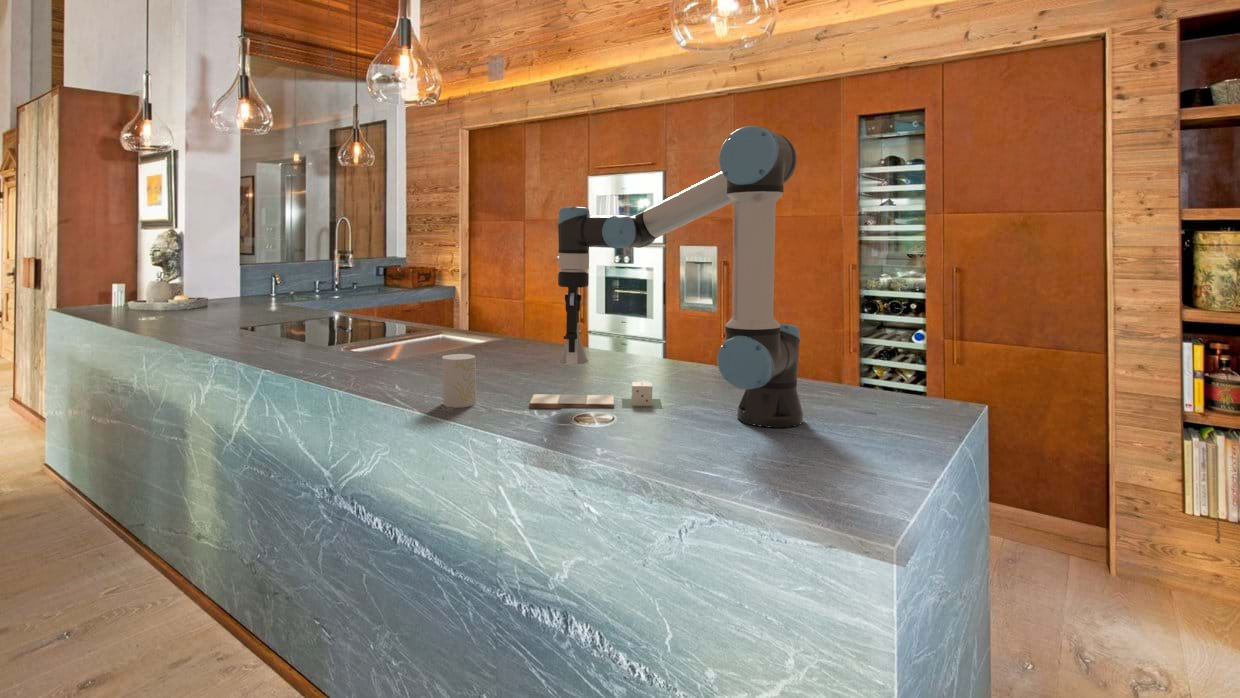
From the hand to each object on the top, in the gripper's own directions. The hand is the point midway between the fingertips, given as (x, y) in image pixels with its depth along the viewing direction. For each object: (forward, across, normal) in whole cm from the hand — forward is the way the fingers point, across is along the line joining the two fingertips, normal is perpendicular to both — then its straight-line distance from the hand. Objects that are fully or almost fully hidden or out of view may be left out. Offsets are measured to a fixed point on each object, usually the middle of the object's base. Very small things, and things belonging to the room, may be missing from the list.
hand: (572, 361), depth 175 cm
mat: (+11, 0, +18) cm, 21 cm away
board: (+11, 0, 0) cm, 11 cm away
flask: (0, 0, 0) cm, 0 cm away
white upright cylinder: (+11, +1, -28) cm, 30 cm away
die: (+10, 0, +18) cm, 20 cm away
